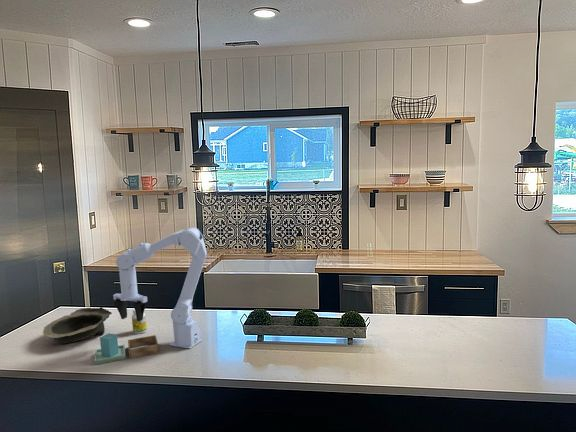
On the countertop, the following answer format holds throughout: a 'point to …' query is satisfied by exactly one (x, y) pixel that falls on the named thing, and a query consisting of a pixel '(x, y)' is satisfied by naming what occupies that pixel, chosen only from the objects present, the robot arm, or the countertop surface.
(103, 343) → the block
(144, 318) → the supplement bottle
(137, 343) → the sleeve
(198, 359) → the countertop surface
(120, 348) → the tray
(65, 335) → the stone bowl
